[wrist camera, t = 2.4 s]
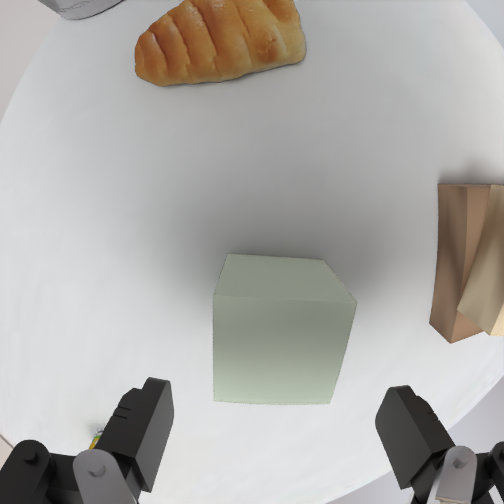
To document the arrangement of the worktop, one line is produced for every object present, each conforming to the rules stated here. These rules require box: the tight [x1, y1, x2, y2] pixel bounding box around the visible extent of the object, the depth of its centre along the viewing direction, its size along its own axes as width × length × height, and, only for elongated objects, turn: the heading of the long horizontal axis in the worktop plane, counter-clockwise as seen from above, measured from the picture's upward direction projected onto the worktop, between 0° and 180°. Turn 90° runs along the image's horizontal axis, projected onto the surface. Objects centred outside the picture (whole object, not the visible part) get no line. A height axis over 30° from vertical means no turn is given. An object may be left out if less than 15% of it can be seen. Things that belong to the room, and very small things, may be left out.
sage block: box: [213, 254, 357, 405], centre depth 14 cm, size 6×6×6 cm
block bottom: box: [429, 184, 504, 344], centre depth 14 cm, size 10×10×4 cm
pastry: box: [135, 0, 306, 87], centre depth 11 cm, size 9×7×4 cm
